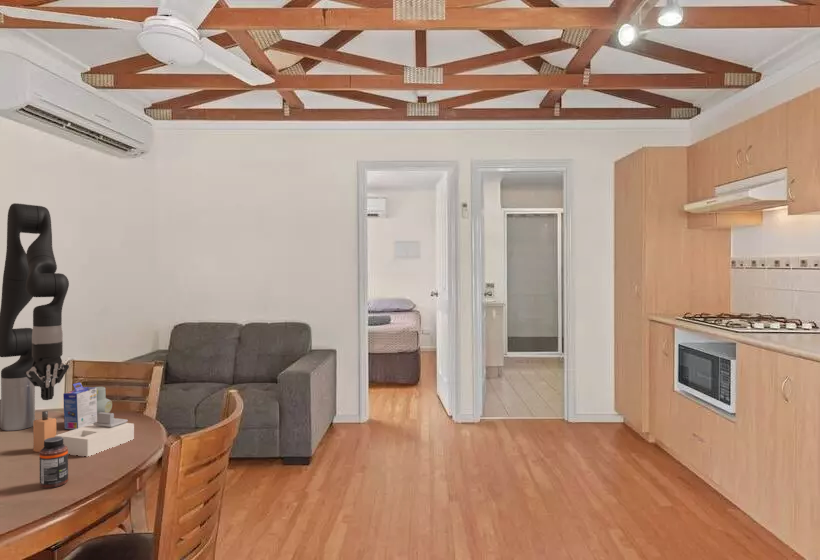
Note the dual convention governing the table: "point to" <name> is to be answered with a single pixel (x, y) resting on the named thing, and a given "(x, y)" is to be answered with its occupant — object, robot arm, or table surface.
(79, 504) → the table surface
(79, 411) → the ink cartridge box
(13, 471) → the table surface
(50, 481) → the supplement bottle
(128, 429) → the socket
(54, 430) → the plug
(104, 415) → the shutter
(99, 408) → the air freshener
